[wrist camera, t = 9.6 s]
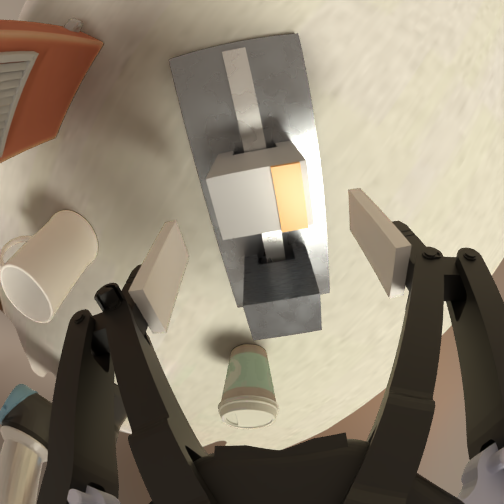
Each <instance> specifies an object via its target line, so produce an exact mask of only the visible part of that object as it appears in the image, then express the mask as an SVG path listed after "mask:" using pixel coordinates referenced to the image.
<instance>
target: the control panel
mask: <svg viewBox="0 0 504 504" xmlns="http://www.w3.org/2000/svg"><path fill="white" fill-rule="evenodd" d="M82 26H83V23H82V21H79V20H77V19H75V18H72V19H69V21H68V22H67V23H66V25H65V26H64V27H63V26H57V25H51V24H44V23H36V22H27V21H15V20H0V163H2V162H4V161H6V160H7V159H9V158H11V157H14V156H16V155H18V154H20V153H22V152H24V151H26V150H28V149H31V148H33V147H35V146H37V145H40V144H42V143H44V142H47V141H49V140H52V139H54V138H55V137H56V136H57V133H58V131H59V128H60V126H61V124H62V121H63V119H64V117H65V114H66V112H67V110H68V108H69V106H70V104H71V101H72V99H73V97H74V95H75V93H76V91H77V89H78V87H79V86H80V84H81V82H82V80H83V78H84V76H85V74H86V73H87V71H88V69H89V67H90V66H91V64H92V62H93V61H94V59H95V57H96V56H97V54H98V52H99V51H100V49H101V48H102V46H103V44H104V43H103V42H102V41H100V40H98V39H96V38H94V37H91V36H89V35H87V34H85V33H83V32H81V31H80V30H81V28H82Z"/></svg>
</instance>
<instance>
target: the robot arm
mask: <svg viewBox="0 0 504 504" xmlns="http://www.w3.org/2000/svg"><path fill="white" fill-rule="evenodd" d="M348 193H349V215H350V231H351V232H352V234H353V236H354V237H355V239H356V240H357V242H358V244H359V245H360V247H361V249H362V250H363V252H364V254H365V256H366V257H367V259H368V261H369V262H370V264H371V266H372V268H373V269H374V271H375V273H376V275H377V277H378V278H379V280H380V282H381V284H382V286H383V288H384V289H385V291H386V293H387V295H388V297H389V299H390V298H394V297H398V296H402V295H404V290H405V285H406V287H407V288H408V290H409V295H408V300H407V304H406V309H405V310H406V311H405V317H404V322H403V326H402V331H401V335H400V340H399V344H398V348H397V352H396V356H395V360H394V364H393V367H392V371H391V374H390V378H389V381H388V384H387V388H386V391H385V394H384V397H383V400H382V403H381V406H380V409H379V412H378V414H377V417H376V420H375V422H374V425H373V428H372V430H371V433H370V434H369V437H368V439H367V441H362V440H356V439H347V438H346V433H341V434H337V435H331V436H326V437H320V438H314V439H311V440H308V441H306V442H303V443H300V444H298V445H295V446H292V447H289V448H286V449H283V450H271V449H264V448H258V447H252V446H246V445H244V446H215V453H212V454H209V455H208V453H207V452H206V451H205V450H204V449H203V447H202V446H201V444H200V443H199V441H198V439H197V438H196V436H195V434H194V432H193V430H192V429H191V427H190V425H189V423H188V421H187V419H186V417H185V415H184V413H183V411H182V410H181V408H180V406H179V404H178V402H177V400H176V397H175V395H174V393H173V391H172V389H171V387H170V385H169V383H168V381H167V378H166V376H165V374H164V372H163V369H162V367H161V365H160V363H159V360H158V358H157V356H156V353H155V351H154V348H153V346H152V343H151V341H150V338H149V336H148V335H147V333H146V330H147V327H148V326H149V328H150V330H151V331H152V333H167V329H168V325H169V322H170V318H171V315H172V312H173V308H174V305H175V301H176V298H177V295H178V291H179V288H180V285H181V282H182V278H183V275H184V272H185V269H186V266H187V263H188V260H189V254H188V251H187V249H186V246H185V243H184V240H183V238H182V235H181V232H180V229H179V226H178V223H177V220H174V221H169V222H165V224H164V225H163V227H162V229H161V231H160V232H159V234H158V236H157V238H156V239H155V241H154V243H153V245H152V247H151V249H150V250H149V252H148V254H147V256H146V258H145V260H144V261H143V263H142V265H138V266H137V267H136V268H135V269H134V270H133V271H132V272H131V274H130V276H129V279H128V280H127V281H126V284H125V285H124V287H123V289H122V291H121V290H120V288H119V286H118V285H117V284H116V283H110V284H107V285H105V286H103V287H102V288H100V289H99V290H98V291H97V293H96V294H95V300H96V301H97V303H98V305H99V306H100V308H101V309H102V311H103V312H102V313H99V314H97V315H94V316H92V315H91V313H90V312H89V310H86V309H85V310H81V311H78V312H77V313H75V314H74V316H73V317H72V318H71V320H70V322H69V326H68V329H67V333H66V337H65V341H64V345H63V349H62V354H61V358H60V363H59V368H58V373H57V378H56V383H55V390H54V395H53V402H52V403H51V402H50V401H48V400H47V399H45V398H44V397H42V396H41V395H39V394H38V392H36V391H34V390H32V389H31V388H29V387H28V386H26V385H24V384H19V385H17V386H16V387H15V388H14V390H13V391H12V392H11V393H10V395H9V396H8V398H7V400H6V401H5V403H4V405H3V407H2V408H1V410H0V424H2V426H1V429H0V432H1V434H2V436H3V438H4V443H3V446H2V450H1V453H0V504H36V497H37V490H38V484H39V478H40V473H41V467H42V463H43V462H46V461H47V467H46V471H45V474H44V477H43V481H42V484H41V489H40V492H39V496H38V501H37V504H121V503H120V502H119V500H118V490H119V483H118V470H117V460H116V442H117V438H118V434H119V430H120V427H121V425H122V424H123V422H124V421H125V419H126V418H127V417H128V420H129V423H130V426H131V429H132V434H131V435H129V437H128V441H129V445H130V448H131V451H132V453H133V456H134V459H135V461H136V464H137V466H138V469H139V472H140V474H141V476H142V479H143V481H144V483H145V486H146V488H147V490H148V492H149V494H150V497H151V499H152V501H151V502H150V503H149V504H504V302H503V300H502V298H501V295H500V293H499V291H498V288H497V286H496V284H495V282H494V280H493V278H492V276H491V274H490V272H489V270H488V268H487V266H486V264H485V262H484V260H483V258H482V256H481V255H480V254H479V253H478V252H477V251H475V250H474V249H471V248H461V249H460V250H459V251H458V253H457V257H443V255H442V253H441V252H440V251H439V250H437V249H435V248H432V247H426V246H425V245H424V244H423V243H422V242H421V240H420V239H419V238H418V237H417V236H416V235H415V234H414V233H413V232H412V231H411V229H410V228H409V227H408V226H407V225H406V224H404V223H402V222H400V221H394V222H391V221H390V219H389V218H388V217H387V216H386V215H385V214H384V213H383V212H382V211H381V210H380V208H379V207H378V206H377V205H376V204H375V203H374V202H373V201H372V200H371V199H370V198H369V197H368V196H367V195H366V194H365V193H364V192H363V191H362V190H361V189H360V188H357V189H350V190H348ZM444 301H446V303H447V307H448V310H449V314H450V318H451V322H452V327H453V331H454V336H455V340H456V345H457V350H458V356H459V362H460V368H461V374H462V382H463V390H464V400H465V412H466V431H467V447H468V453H469V459H470V461H469V462H468V464H467V465H466V467H465V469H464V473H463V475H462V483H463V487H462V491H461V492H460V494H459V496H458V497H457V498H456V497H455V496H453V495H451V494H450V493H448V492H446V491H445V490H443V489H441V488H440V487H438V486H437V485H435V484H433V483H432V482H430V481H429V480H427V479H426V478H424V477H422V476H421V475H419V474H418V473H417V470H418V467H419V464H420V461H421V458H422V455H423V452H424V449H425V445H426V442H427V438H428V435H429V431H430V426H431V423H432V419H433V414H434V409H435V401H433V392H434V387H435V381H436V375H437V368H438V362H439V354H440V346H441V336H442V323H443V304H444ZM114 371H115V375H116V379H117V383H118V386H117V385H115V384H114Z"/></svg>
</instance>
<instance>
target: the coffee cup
mask: <svg viewBox="0 0 504 504" xmlns="http://www.w3.org/2000/svg"><path fill="white" fill-rule="evenodd" d="M218 409H219V414H220V416H221V420H222V421H223V422H224V423H225V424H226V425H229V426H231V427H235V428H240V429H258V428H263V427H266V426H269V425H271V424H272V423H274V422H275V419H276V415H277V414H278V409H279V405H278V404H277V403H276V399H275V394H274V389H273V383H272V378H271V373H270V368H269V363H268V358H267V353H266V351H265V350H264V349H263V348H262V347H260V346H258V345H254V344H244V345H240V346H237V347H236V348H234V349H233V350H232V352H231V356H230V361H229V365H228V370H227V375H226V380H225V385H224V390H223V395H222V400H221V402H220V403H219V405H218Z"/></svg>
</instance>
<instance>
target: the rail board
mask: <svg viewBox="0 0 504 504" xmlns="http://www.w3.org/2000/svg"><path fill="white" fill-rule="evenodd" d="M169 62H170V67H171V71H172V75H173V79H174V83H175V87H176V92H177V96H178V100H179V104H180V108H181V112H182V115H183V119H184V123H185V127H186V131H187V135H188V139H189V142H190V146H191V150H192V154H193V157H194V161H195V165H196V168H197V172H198V176H199V179H200V183H201V186H202V190H203V194H204V197H205V201H206V204H207V208H208V211H209V215H210V218H211V222H212V225H213V228H214V232H215V235H216V239H217V242H218V245H219V249H220V252H221V255H222V259H223V262H224V265H225V268H226V272H227V275H228V278H229V281H230V285H231V288H232V291H233V294H234V297H235V301H236V304H237V307H243V308H244V311H245V315H246V318H247V321H248V324H249V328H250V331H251V334H252V337H253V340H260V339H267V338H274V337H281V336H288V335H294V334H300V333H306V332H312V331H318V330H322V327H321V302H320V294H326V293H330V286H329V260H328V242H327V227H326V214H325V202H324V191H323V181H322V172H321V163H320V155H319V147H318V140H317V133H316V126H315V119H314V113H313V106H312V100H311V95H310V89H309V83H308V78H307V73H306V68H305V63H304V58H303V53H302V48H301V44H300V39H299V35H298V33H297V34H286V35H277V36H269V37H262V38H255V39H249V40H244V41H238V42H233V43H228V44H224V45H219V46H215V47H211V48H206V49H203V50H199V51H195V52H191V53H188V54H184V55H181V56H178V57H175V58H172V59H169ZM285 141H292V143H293V144H294V145H295V146H296V148H297V149H298V150H299V151H300V153H301V154H302V155H303V157H304V158H305V159H306V161H307V169H308V176H309V184H310V192H311V200H312V209H313V219H314V225H308V227H309V228H306V229H300V230H294V231H288V232H282V230H278V231H273V232H267V233H261V234H255V235H250V236H244V237H238V238H233V239H227V240H223V239H222V235H221V232H220V228H219V225H218V221H217V218H216V214H215V211H214V207H213V204H212V200H211V196H210V193H209V189H208V186H207V182H206V177H207V175H208V173H209V171H210V169H211V167H212V165H213V163H214V161H215V160H216V158H217V156H218V154H221V153H226V152H230V151H234V155H236V154H241V153H246V152H252V151H257V150H262V149H268V148H274V147H276V144H275V143H278V142H285Z"/></svg>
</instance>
